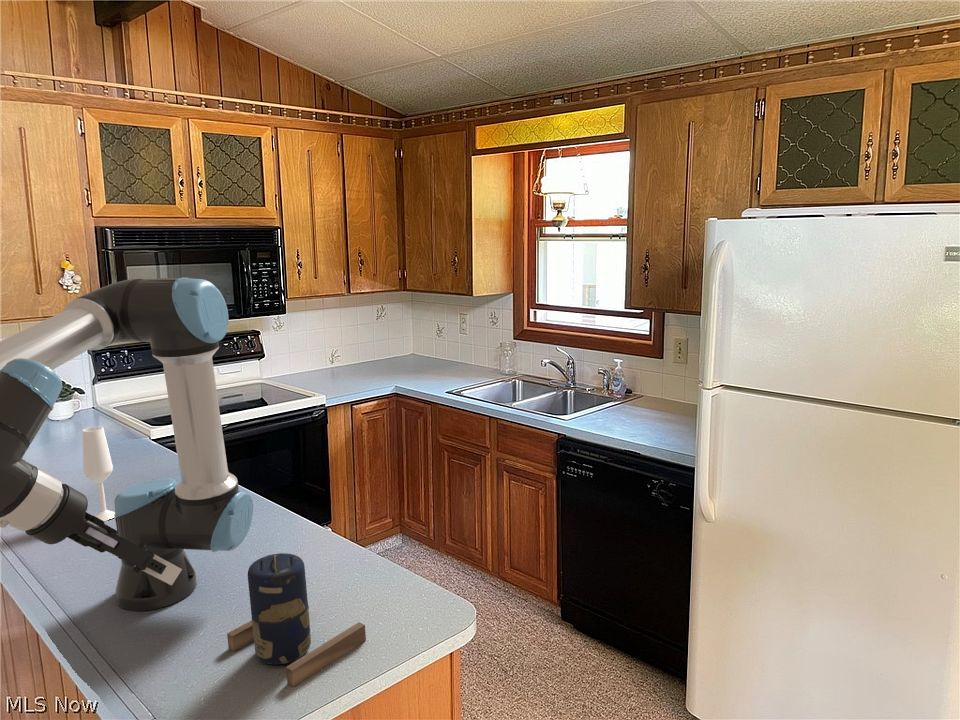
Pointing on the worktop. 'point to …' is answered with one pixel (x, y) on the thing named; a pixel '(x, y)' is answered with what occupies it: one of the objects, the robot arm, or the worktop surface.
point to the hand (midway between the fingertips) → (174, 576)
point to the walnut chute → (311, 660)
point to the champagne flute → (97, 463)
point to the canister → (279, 608)
